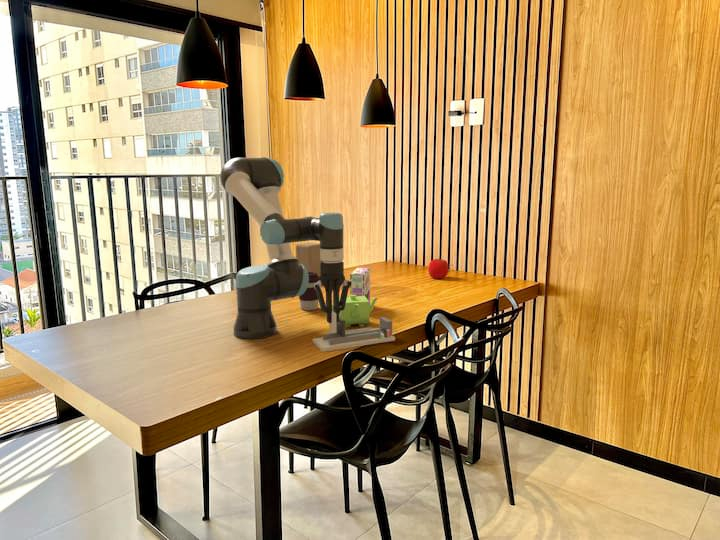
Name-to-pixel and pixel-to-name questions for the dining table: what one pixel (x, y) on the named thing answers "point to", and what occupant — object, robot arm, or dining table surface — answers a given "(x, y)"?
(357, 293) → the candy box
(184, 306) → the dining table surface
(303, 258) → the wooden block
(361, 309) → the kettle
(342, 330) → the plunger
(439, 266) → the tomato
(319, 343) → the base
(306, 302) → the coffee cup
